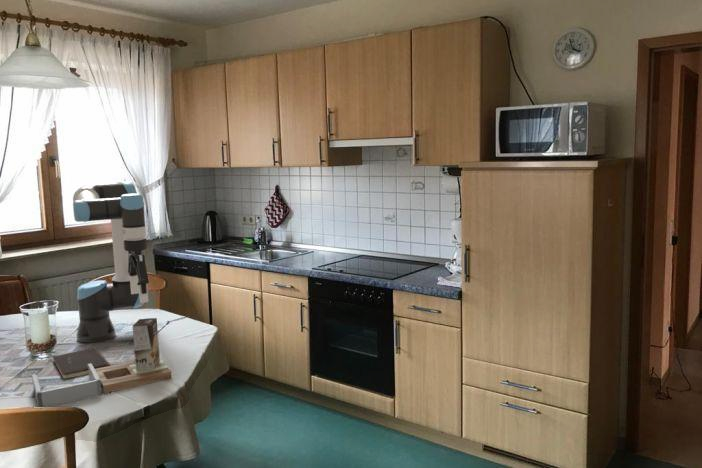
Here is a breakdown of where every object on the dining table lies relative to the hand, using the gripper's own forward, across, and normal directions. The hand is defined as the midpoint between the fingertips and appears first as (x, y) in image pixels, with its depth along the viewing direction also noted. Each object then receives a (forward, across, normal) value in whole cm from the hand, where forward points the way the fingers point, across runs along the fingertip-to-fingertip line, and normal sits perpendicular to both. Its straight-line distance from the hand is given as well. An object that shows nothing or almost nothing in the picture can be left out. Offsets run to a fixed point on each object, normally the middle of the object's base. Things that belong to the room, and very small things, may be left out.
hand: (139, 298), depth 217 cm
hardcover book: (+27, -18, -19) cm, 38 cm away
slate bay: (+26, +7, -27) cm, 38 cm away
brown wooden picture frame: (+26, +6, -6) cm, 27 cm away
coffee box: (+24, +6, 0) cm, 24 cm away
